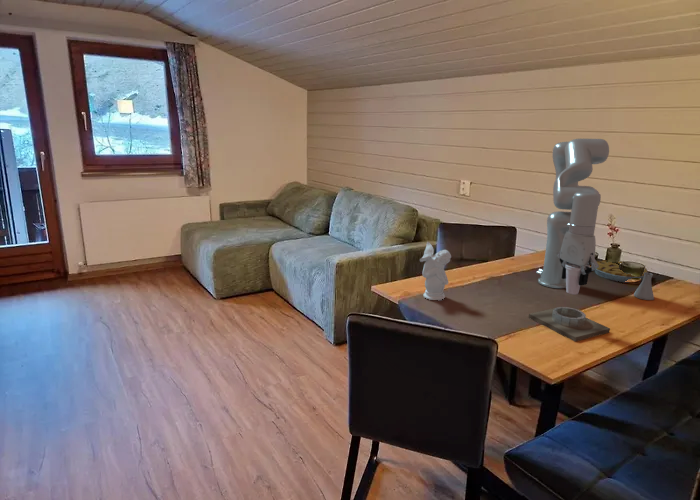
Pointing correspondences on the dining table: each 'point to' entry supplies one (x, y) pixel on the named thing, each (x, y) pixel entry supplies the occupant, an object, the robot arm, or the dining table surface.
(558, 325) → the board
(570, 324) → the collar
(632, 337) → the dining table surface
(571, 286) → the smoothie
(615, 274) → the pie
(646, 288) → the flask
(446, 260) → the cherub figurine
